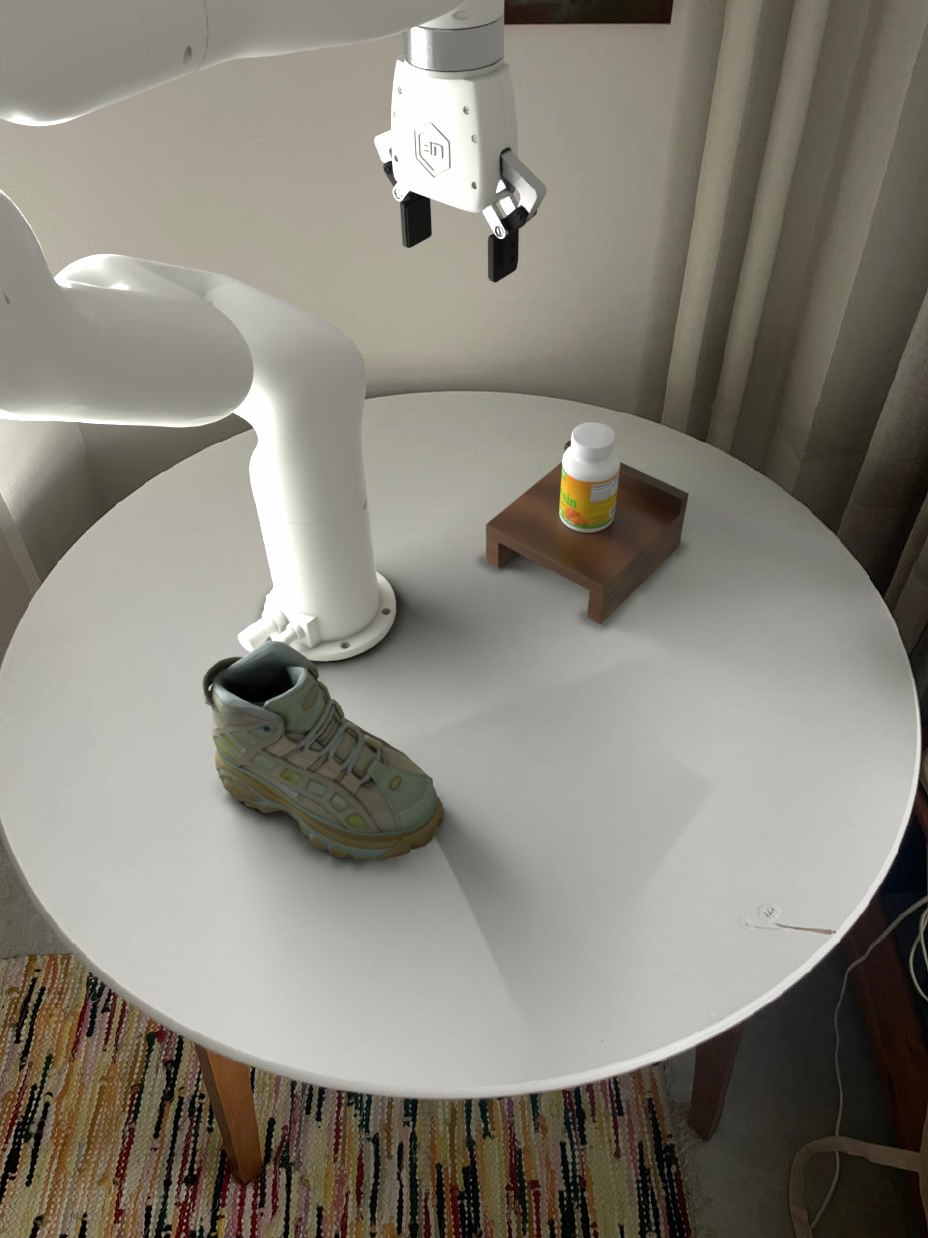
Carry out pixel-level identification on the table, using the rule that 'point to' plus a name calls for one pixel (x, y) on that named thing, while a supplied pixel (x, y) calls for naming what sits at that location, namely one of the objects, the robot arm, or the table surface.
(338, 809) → the sneaker
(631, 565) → the shelf
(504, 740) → the table surface
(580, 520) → the supplement bottle
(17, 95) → the robot arm
